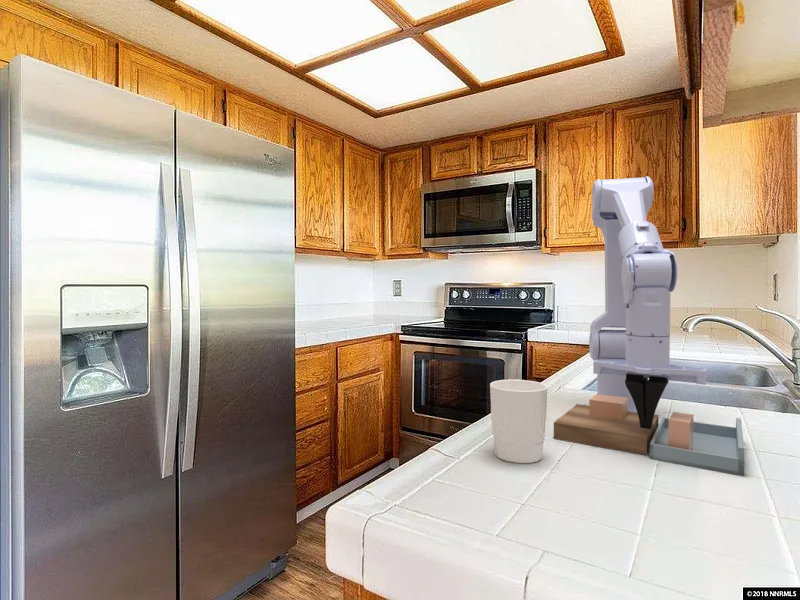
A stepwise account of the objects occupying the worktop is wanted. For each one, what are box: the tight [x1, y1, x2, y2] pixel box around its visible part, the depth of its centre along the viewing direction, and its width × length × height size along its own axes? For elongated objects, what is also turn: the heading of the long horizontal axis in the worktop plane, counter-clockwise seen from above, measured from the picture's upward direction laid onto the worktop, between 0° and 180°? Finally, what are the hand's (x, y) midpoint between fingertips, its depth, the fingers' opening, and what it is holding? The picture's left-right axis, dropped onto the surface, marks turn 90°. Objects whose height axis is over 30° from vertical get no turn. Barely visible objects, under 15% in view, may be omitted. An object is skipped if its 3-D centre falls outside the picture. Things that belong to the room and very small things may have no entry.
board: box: [553, 403, 659, 456], centre depth 75 cm, size 14×13×2 cm
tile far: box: [588, 393, 628, 419], centre depth 78 cm, size 5×5×2 cm
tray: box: [649, 417, 745, 477], centre depth 68 cm, size 16×10×4 cm, turn 145°
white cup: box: [489, 379, 549, 464], centre depth 66 cm, size 8×8×10 cm
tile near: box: [668, 411, 695, 450], centre depth 65 cm, size 5×5×2 cm
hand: (646, 426), depth 68 cm, fingers closed
